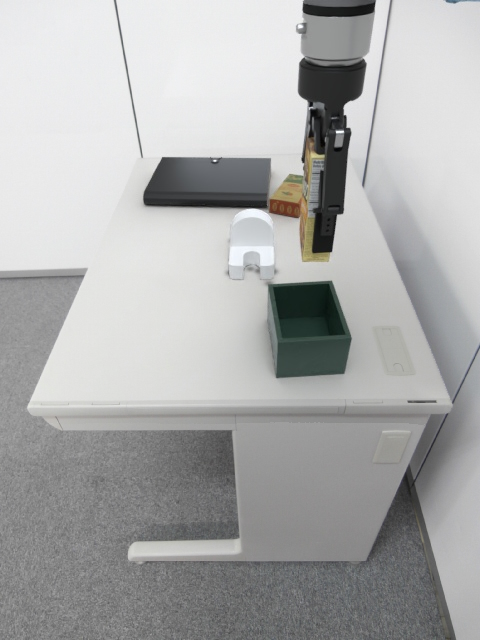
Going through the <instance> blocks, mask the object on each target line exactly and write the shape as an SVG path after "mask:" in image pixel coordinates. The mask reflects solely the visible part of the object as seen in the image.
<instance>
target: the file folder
mask: <svg viewBox="0 0 480 640" xmlns="http://www.w3.org/2000/svg"><path fill="white" fill-rule="evenodd" d="M271 171H272V158H271V157H222V156H220V157H211V156H210V157H208V156H207V157H205V156H204V157H201V156H200V157H198V156H194V157H193V156H192V157H191V156H190V157H189V156H162V157H161V158H160V161H159V162H158V164H157V166H156V168H155V170H154V172H153V174H152V175H151V177H150V179H149V181H148V183H147V185H146V186H145V189H144V191H143V195H142V201H143V204H144V205H158V206H159V205H160V206H161V205H164V206H165V205H166V206H207V207H209V206H211V207H212V206H213V207H215V206H216V207H257V208H258V207H259V208H260V207H263V208H264V207H265V208H266V207H268V205H269V195H270V194H269V192H270V183H271V173H272V172H271Z"/></svg>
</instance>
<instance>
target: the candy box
mask: <svg viewBox="0 0 480 640" xmlns="http://www.w3.org/2000/svg"><path fill="white" fill-rule="evenodd" d="M321 147H322V148H325V146H321ZM303 166H304V170H303V175H302V176H303V189H302V201H301V214H300V216H299V227H298V230H299V232H298V234H299V245H300V254H301V262H302V263H310V262H311V263H328V262H330V256H331V252H329V253H312V242H313V232H314V222H315V213H313V208H318V189H319V179H320V170H322V171H324V155H318V154H316V153H315V151H314V137H310V138H308V135H307V140H306V152H305V164H304V163H303Z"/></svg>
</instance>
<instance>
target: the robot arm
mask: <svg viewBox="0 0 480 640" xmlns="http://www.w3.org/2000/svg"><path fill="white" fill-rule="evenodd" d="M444 1H445V3H448V4H457V3H461V2H476V3H477V2H479V3H480V0H444ZM376 3H377V0H302V9H301V11H302V15H301V18H302V22H300V23H297V24H296V25H295V33H296V34H297V35H300V44H299V45H300V48H299V52H300V54H301V55H302V56H303V58H301V59H300V61H299V62H298V72H297V73H298V74H297V94H298V95H299V97H300V98H301V99H303V100H305V101H306V102H307V107H306V108H307V109H306V119H305V126H304V127H305V128H304V135H303V143H302V145H303V146H302V153H301V157H300V160H301V163H302V164H303V165H302V170H303V171H304V164H305V152H306V140H307V135H308V138H310V137H314V151H315V153H316V154H318V155H324V171H322V170H320V179H319V189H318V208H313V213H315V222H314V232H313V242H312V253H329V252H330V253H333V249H334V242H335V234H336V228H337V219H338V215H340V216H341V215H344V212H345V197H346V187H347V174H348V172H347V170H348V159H349V148H350V142H351V136H352V129H351V127H347V126H348V117H347V114H345V105H347V104H348V103H349V102H355V101H356V100H358V99H359V98H360V97H362V95H363V92H364V87H365V86H364V85H365V78H366V72H367V65H368V63H367V62H366V59H365V57H366V56H367V55H368V54H369V53H370V49H371V42H372V36H373V30H374V29H373V28H374V22H375V14H376ZM321 146H325V148H322V147H321Z"/></svg>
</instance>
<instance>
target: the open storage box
mask: <svg viewBox="0 0 480 640" xmlns="http://www.w3.org/2000/svg"><path fill="white" fill-rule="evenodd" d="M341 305H342V304H341V302H340V299H339V295H338V293H337V290H336V287H335V284H334V282H333V280H316V281H300V282H281V283H269V284H267V311H266V312H267V313H266V316H267V319H266V320H267V327H268V333H269V340H270V346H271V352H272V353H271V354H272V360H273V365H274V366H273V367H274V372H275V378H276V379H283V378H299V377H313V376H330V375H345V374H346V368H347V364H348V359H349V355H350V350H351V349H350V348H351V344H352V339H353V337H352V334H351V332H350V329H349V326H348V323H347V322H348V321H347V320H346V317H345V314H344V311H343V307H342V306H341Z"/></svg>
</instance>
